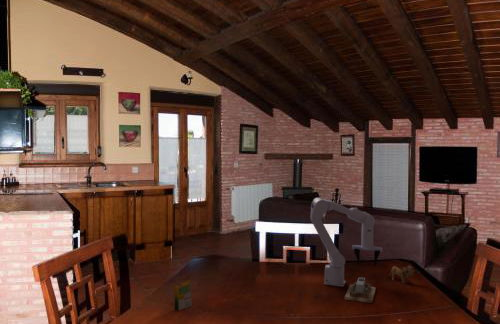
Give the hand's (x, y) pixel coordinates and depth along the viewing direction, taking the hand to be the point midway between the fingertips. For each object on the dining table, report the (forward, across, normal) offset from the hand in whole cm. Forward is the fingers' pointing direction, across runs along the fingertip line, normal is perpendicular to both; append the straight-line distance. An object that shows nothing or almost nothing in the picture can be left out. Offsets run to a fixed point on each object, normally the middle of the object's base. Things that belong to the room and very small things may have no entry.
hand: (366, 264), depth 212 cm
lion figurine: (+10, +16, +10) cm, 21 cm away
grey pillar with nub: (+8, -1, -18) cm, 19 cm away
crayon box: (+10, -70, -61) cm, 93 cm away
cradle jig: (+9, -1, -17) cm, 19 cm away
